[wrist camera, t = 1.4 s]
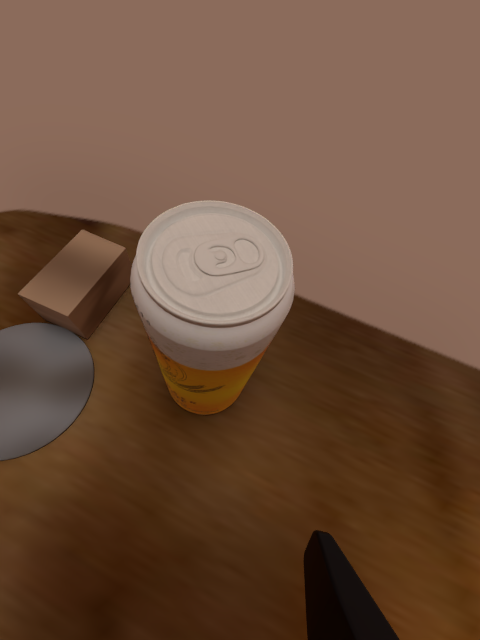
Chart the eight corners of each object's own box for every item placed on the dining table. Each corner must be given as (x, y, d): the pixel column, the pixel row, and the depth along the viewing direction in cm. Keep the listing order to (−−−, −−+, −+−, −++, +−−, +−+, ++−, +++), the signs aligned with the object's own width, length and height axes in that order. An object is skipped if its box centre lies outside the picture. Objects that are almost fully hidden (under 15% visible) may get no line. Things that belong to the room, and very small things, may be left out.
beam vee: (172, 400, 21) (167, 387, 18) (-172, 528, 16) (-278, 546, 12) (128, 254, 27) (118, 223, 24) (-137, 310, 21) (-202, 279, 18)
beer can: (158, 355, 23) (106, 206, 10) (227, 334, 25) (262, 183, 11) (179, 428, 21) (148, 363, 7) (254, 399, 22) (336, 305, 9)
